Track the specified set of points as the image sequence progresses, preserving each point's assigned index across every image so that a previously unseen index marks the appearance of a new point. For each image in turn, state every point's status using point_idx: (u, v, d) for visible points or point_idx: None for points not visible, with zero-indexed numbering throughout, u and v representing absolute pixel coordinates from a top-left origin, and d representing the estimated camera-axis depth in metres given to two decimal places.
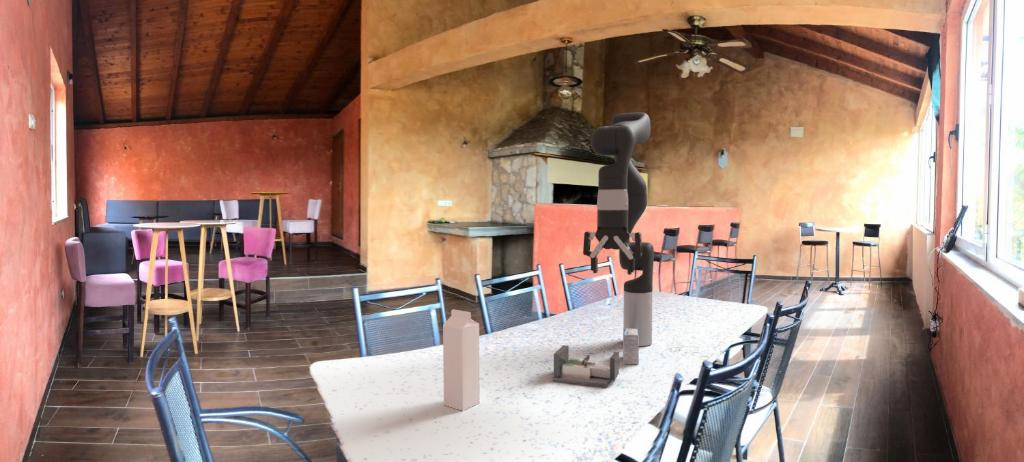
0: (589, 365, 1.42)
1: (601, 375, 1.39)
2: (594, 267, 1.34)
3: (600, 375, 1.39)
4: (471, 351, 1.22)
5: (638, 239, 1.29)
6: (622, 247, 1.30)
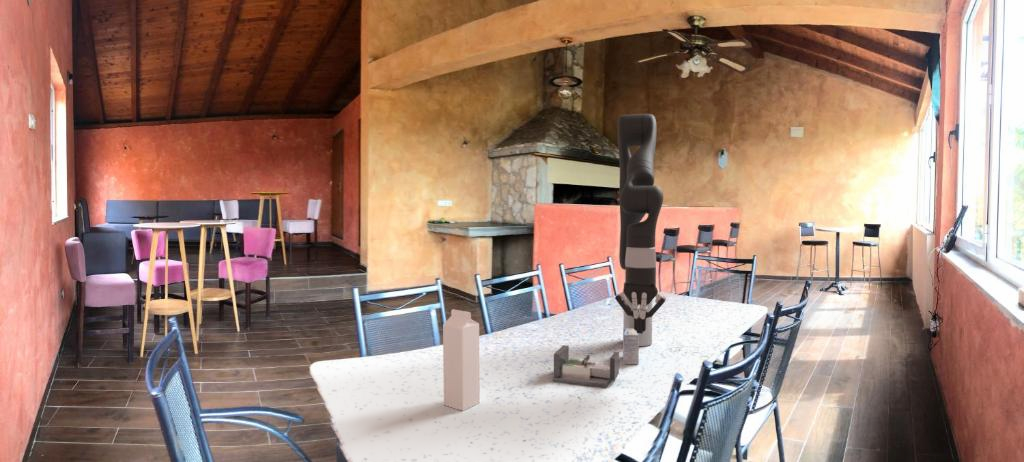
0: (589, 365, 1.42)
1: (601, 375, 1.39)
2: (638, 327, 1.35)
3: (600, 375, 1.39)
4: (471, 351, 1.22)
5: (660, 304, 1.33)
6: (643, 305, 1.34)
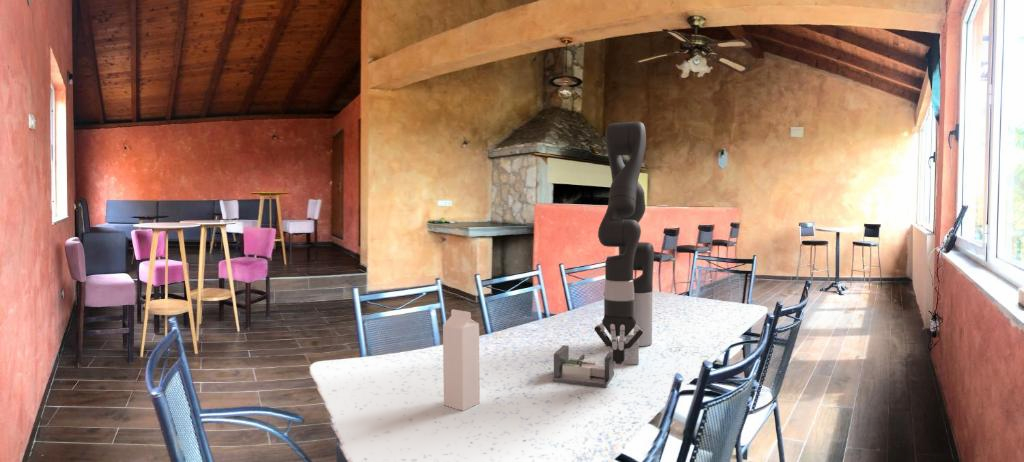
0: (584, 364, 1.43)
1: (596, 374, 1.40)
2: (616, 358, 1.38)
3: (595, 374, 1.40)
4: (471, 351, 1.22)
5: (638, 336, 1.36)
6: (621, 336, 1.37)
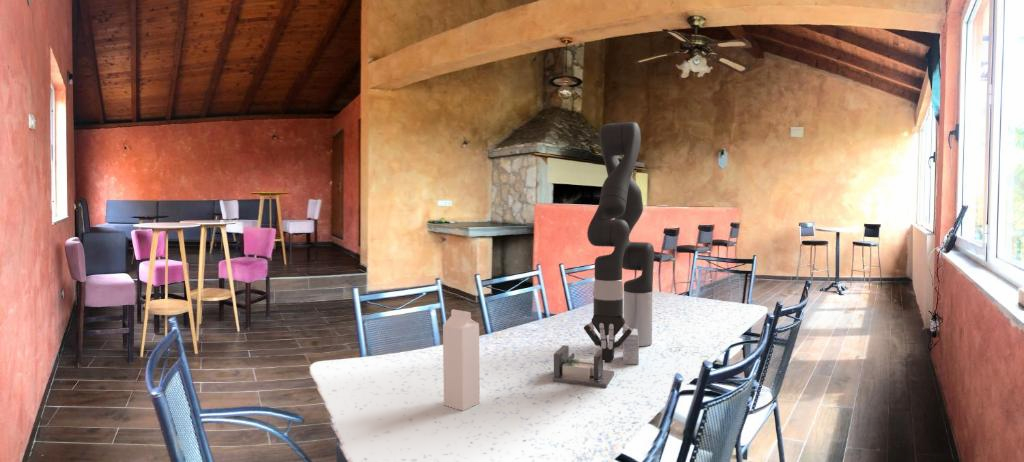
0: (574, 363, 1.44)
1: None
2: (605, 357, 1.39)
3: None
4: (471, 351, 1.22)
5: (626, 335, 1.37)
6: (610, 335, 1.38)
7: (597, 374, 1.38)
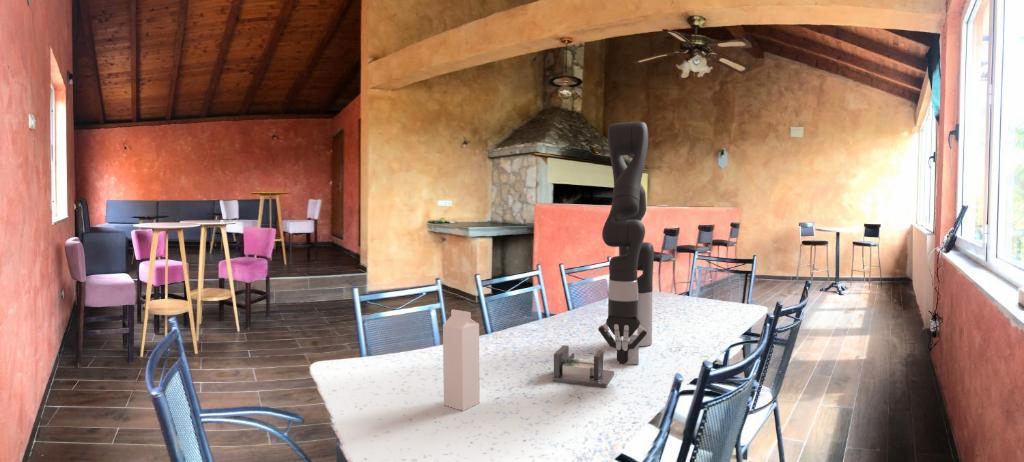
0: (574, 363, 1.44)
1: None
2: (620, 359, 1.38)
3: None
4: (471, 351, 1.22)
5: (642, 336, 1.35)
6: (625, 337, 1.36)
7: (597, 374, 1.38)
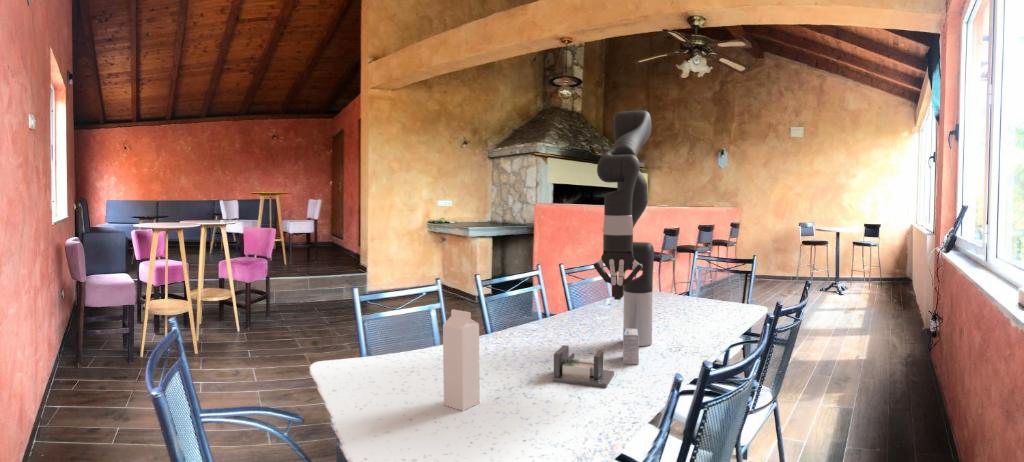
0: (574, 363, 1.44)
1: None
2: (615, 294, 1.39)
3: None
4: (471, 351, 1.22)
5: (637, 270, 1.36)
6: (620, 272, 1.37)
7: (597, 374, 1.38)
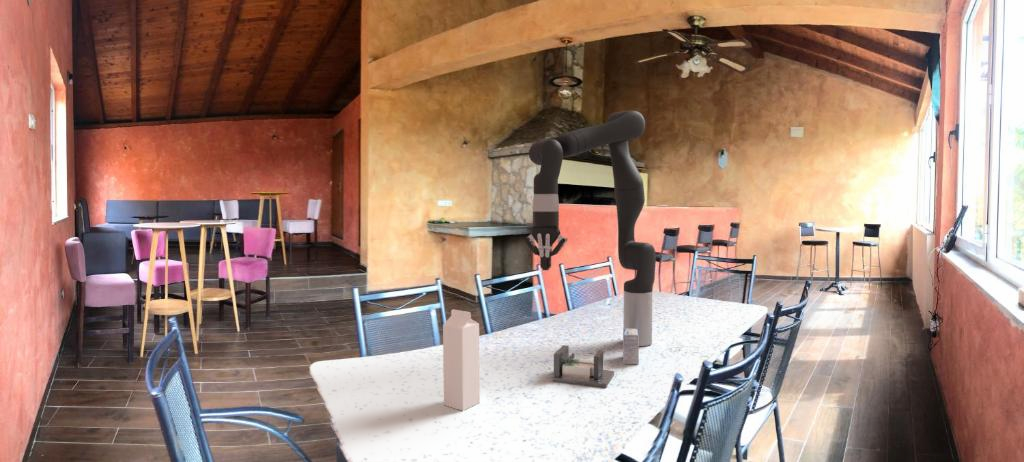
0: (574, 363, 1.44)
1: None
2: (543, 265, 1.54)
3: None
4: (471, 351, 1.22)
5: (561, 243, 1.52)
6: (546, 245, 1.53)
7: (597, 374, 1.38)
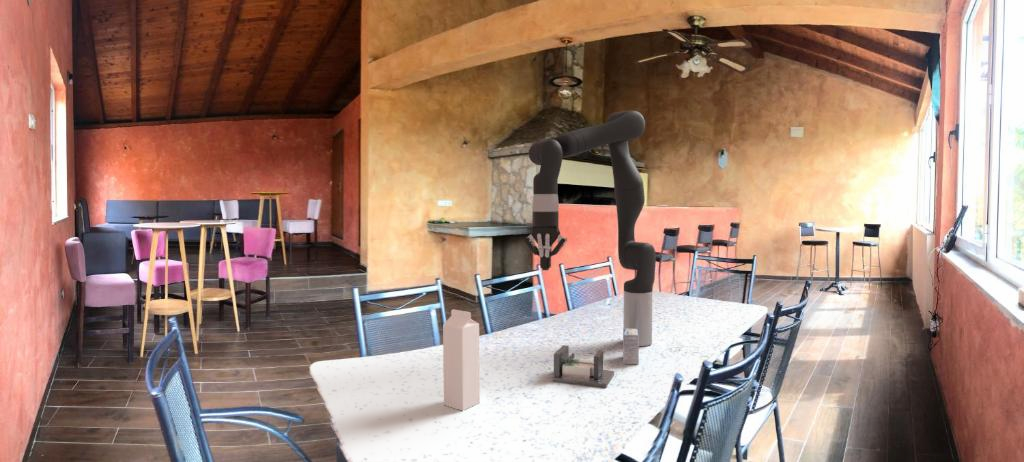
0: (574, 363, 1.44)
1: None
2: (543, 265, 1.54)
3: None
4: (471, 351, 1.22)
5: (561, 243, 1.52)
6: (546, 245, 1.53)
7: (597, 374, 1.38)
